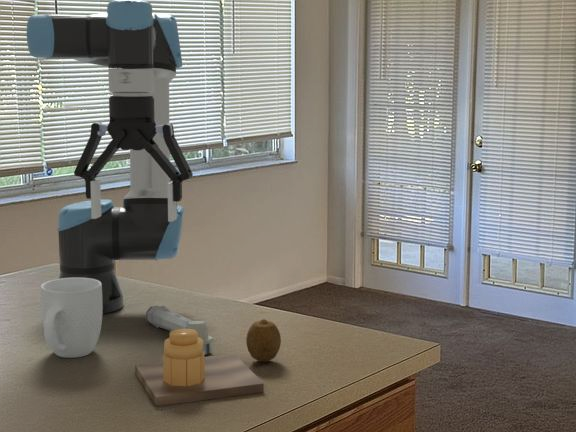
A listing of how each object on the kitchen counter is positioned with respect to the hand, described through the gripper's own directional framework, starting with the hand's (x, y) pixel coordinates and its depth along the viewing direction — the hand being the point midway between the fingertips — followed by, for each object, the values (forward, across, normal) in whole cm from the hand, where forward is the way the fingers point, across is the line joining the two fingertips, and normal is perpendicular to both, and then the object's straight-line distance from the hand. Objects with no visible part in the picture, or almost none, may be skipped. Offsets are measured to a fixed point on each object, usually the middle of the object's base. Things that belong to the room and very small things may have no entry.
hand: (134, 219), depth 153 cm
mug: (+27, -14, +4) cm, 31 cm away
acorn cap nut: (+25, +11, -8) cm, 29 cm away
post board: (+27, +12, -6) cm, 30 cm away
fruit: (+27, +22, +7) cm, 35 cm away
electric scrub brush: (+27, +3, +17) cm, 32 cm away
